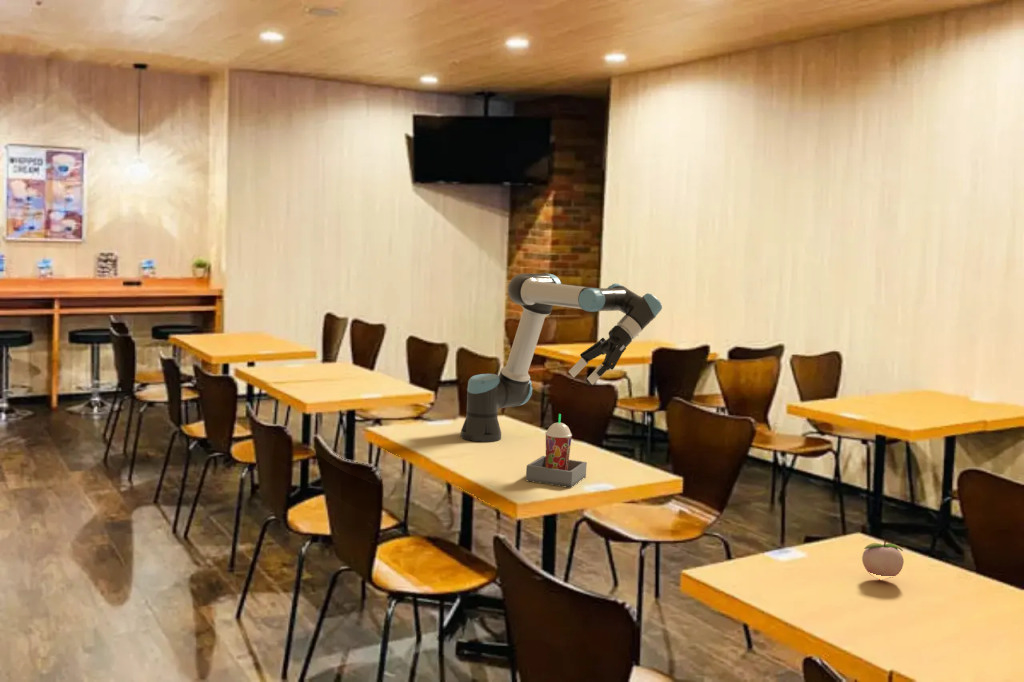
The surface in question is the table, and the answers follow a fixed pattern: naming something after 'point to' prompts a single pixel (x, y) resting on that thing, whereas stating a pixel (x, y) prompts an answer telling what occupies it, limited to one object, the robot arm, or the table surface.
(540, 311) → the robot arm
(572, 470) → the holder tray
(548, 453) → the smoothie
